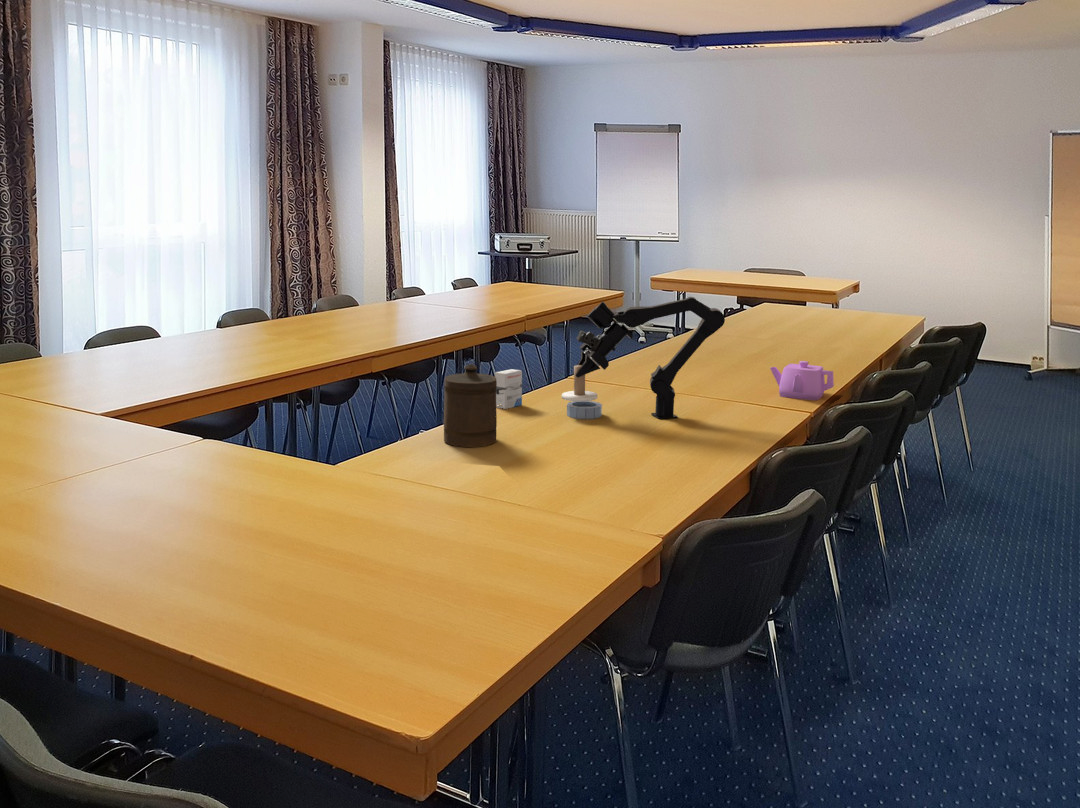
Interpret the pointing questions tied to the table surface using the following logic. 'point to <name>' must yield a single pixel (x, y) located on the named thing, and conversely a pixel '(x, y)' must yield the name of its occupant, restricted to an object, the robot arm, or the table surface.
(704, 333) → the robot arm
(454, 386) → the wooden container
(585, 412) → the bowl
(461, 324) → the table surface
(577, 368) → the lid
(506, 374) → the ink box
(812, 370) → the teakettle
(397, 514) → the table surface
